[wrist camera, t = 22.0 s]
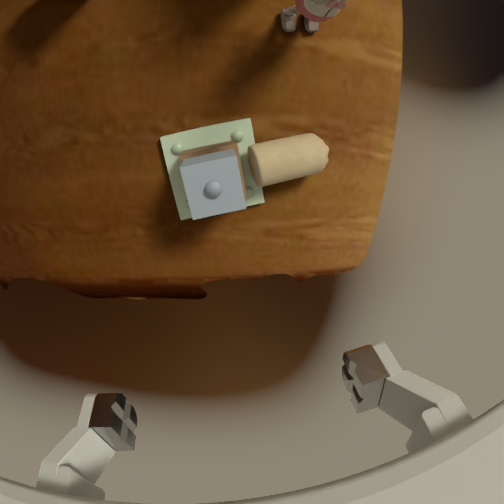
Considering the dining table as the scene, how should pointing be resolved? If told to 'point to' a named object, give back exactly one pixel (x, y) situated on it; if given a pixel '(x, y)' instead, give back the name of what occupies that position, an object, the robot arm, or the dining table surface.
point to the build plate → (204, 137)
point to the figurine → (310, 13)
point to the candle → (287, 158)
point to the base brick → (212, 149)
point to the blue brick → (213, 184)
